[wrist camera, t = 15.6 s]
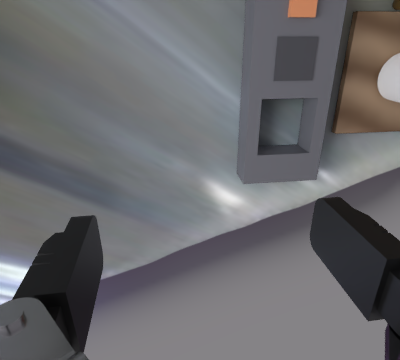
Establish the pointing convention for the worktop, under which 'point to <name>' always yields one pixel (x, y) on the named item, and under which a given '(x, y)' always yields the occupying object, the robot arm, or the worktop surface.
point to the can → (390, 79)
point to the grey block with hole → (287, 82)
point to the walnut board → (368, 75)
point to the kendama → (396, 4)
